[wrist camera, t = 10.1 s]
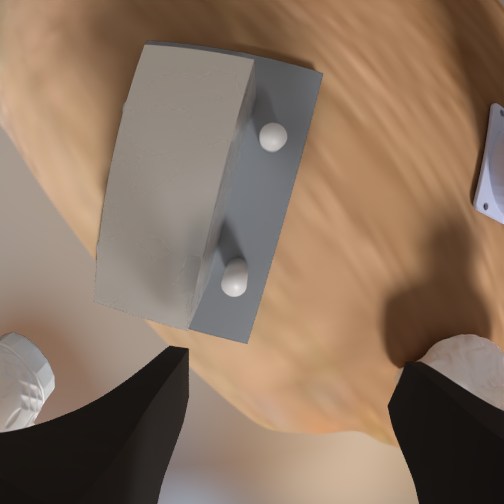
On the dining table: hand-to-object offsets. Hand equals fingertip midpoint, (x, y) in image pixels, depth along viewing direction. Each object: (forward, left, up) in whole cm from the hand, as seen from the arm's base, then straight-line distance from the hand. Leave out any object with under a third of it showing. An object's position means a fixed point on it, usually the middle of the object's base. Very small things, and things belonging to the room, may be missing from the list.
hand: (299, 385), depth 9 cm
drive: (+6, -5, -8) cm, 11 cm away
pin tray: (+6, -4, -9) cm, 12 cm away
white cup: (+19, +14, -10) cm, 25 cm away
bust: (-15, +3, -10) cm, 18 cm away
